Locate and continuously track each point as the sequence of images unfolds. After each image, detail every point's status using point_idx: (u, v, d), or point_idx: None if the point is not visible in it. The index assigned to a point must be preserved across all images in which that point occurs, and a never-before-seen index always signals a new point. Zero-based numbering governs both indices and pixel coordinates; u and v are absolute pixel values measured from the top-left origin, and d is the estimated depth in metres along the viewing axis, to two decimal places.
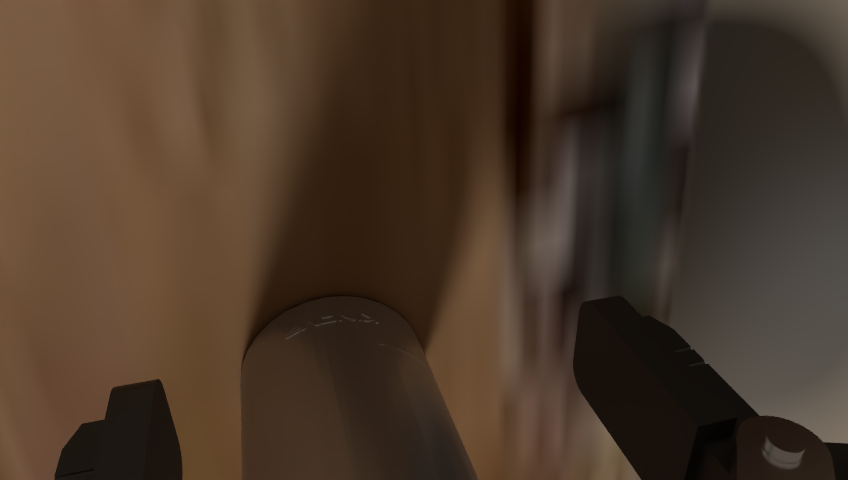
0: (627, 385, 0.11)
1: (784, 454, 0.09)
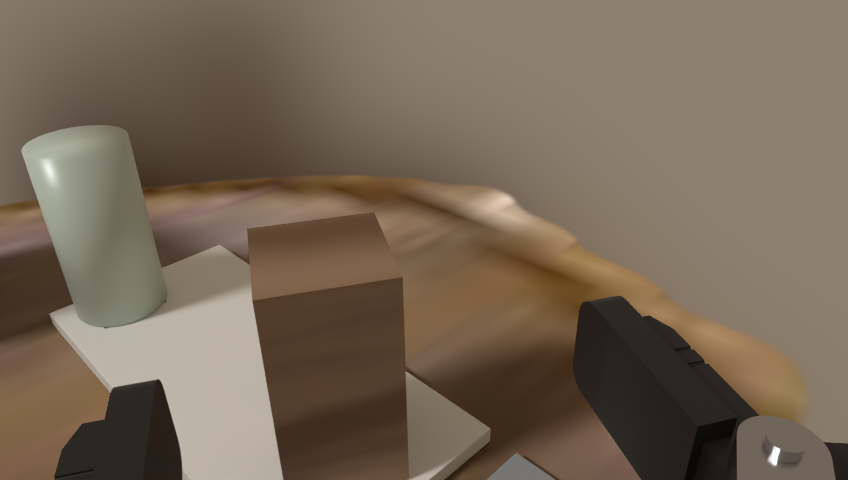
0: (627, 385, 0.11)
1: (784, 454, 0.09)
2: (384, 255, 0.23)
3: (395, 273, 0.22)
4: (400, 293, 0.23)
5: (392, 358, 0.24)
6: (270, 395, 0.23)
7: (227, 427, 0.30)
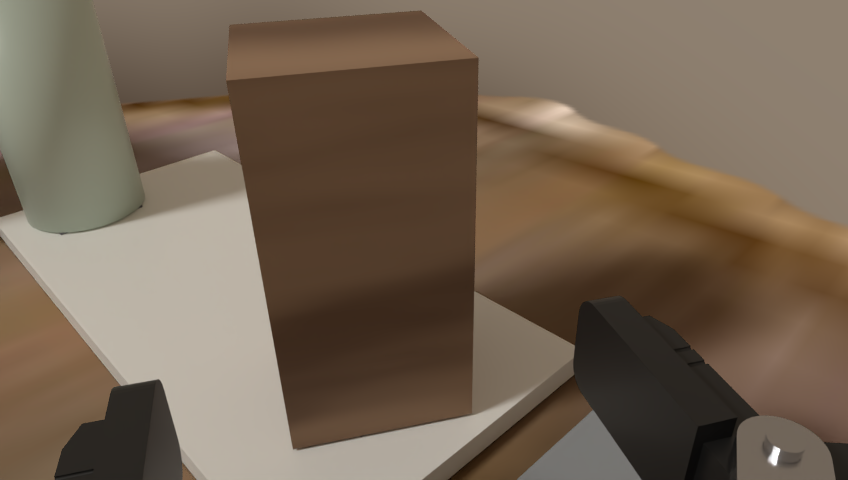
0: (627, 385, 0.11)
1: (784, 453, 0.09)
2: (444, 40, 0.15)
3: (466, 54, 0.13)
4: (473, 89, 0.14)
5: (456, 210, 0.15)
6: (262, 263, 0.14)
7: (210, 347, 0.21)
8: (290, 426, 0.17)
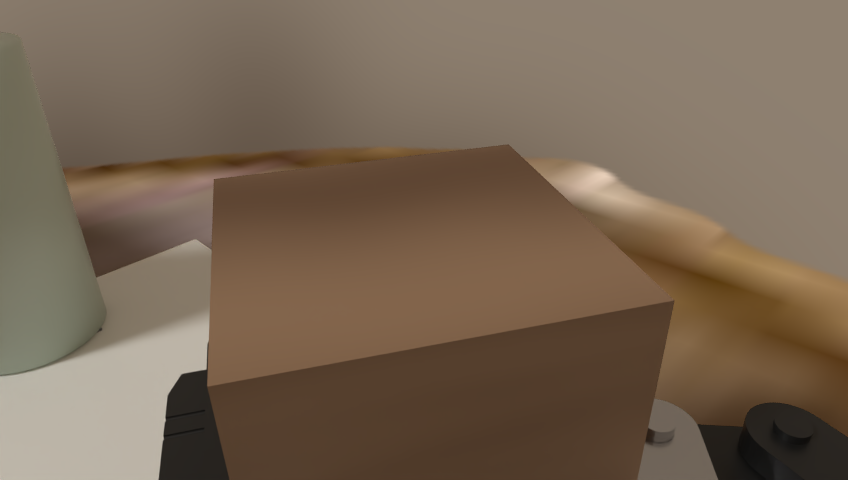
0: None
1: (659, 434, 0.09)
2: (585, 238, 0.08)
3: (646, 289, 0.07)
4: (657, 348, 0.08)
5: None
6: None
7: None
8: None
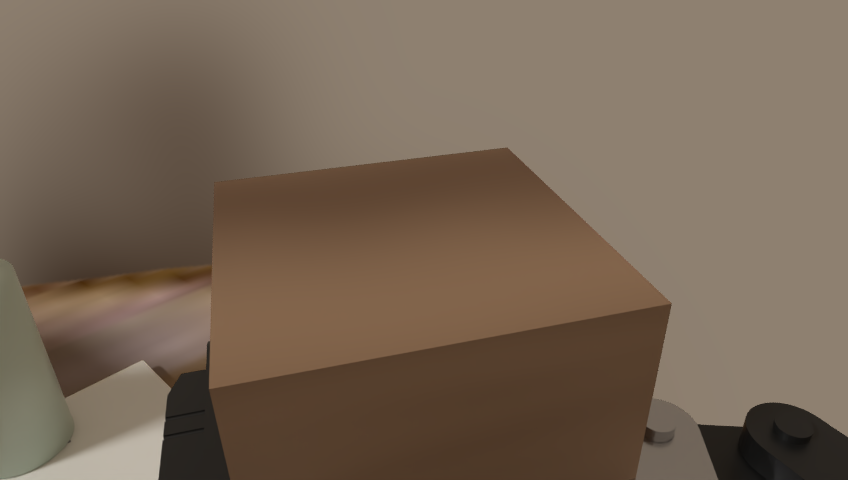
0: None
1: (660, 434, 0.09)
2: (583, 241, 0.09)
3: (644, 292, 0.07)
4: (655, 351, 0.08)
5: None
6: None
7: None
8: None
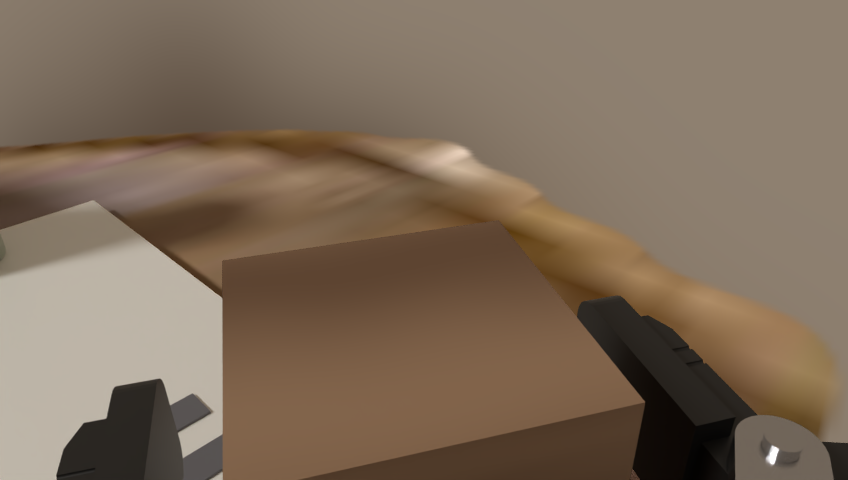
0: None
1: (782, 453, 0.09)
2: (566, 331, 0.09)
3: (620, 389, 0.08)
4: (630, 442, 0.08)
5: None
6: None
7: (15, 424, 0.21)
8: None
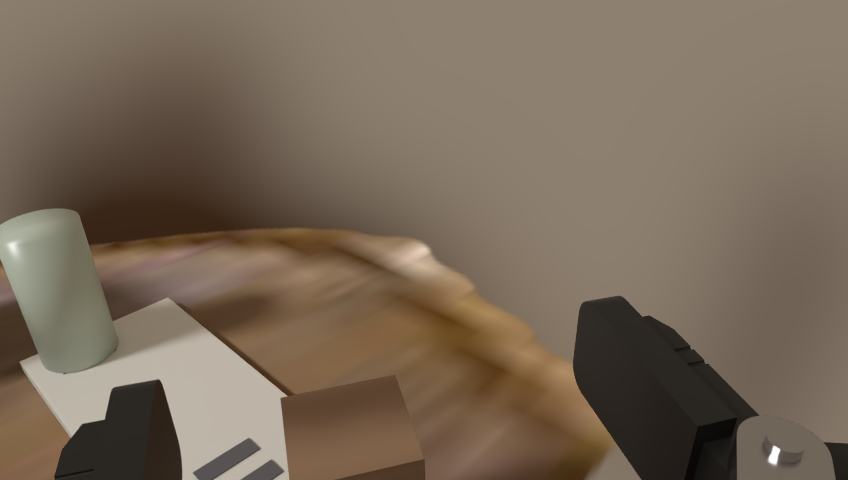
0: (627, 385, 0.11)
1: (784, 454, 0.09)
2: (406, 431, 0.26)
3: (417, 454, 0.25)
4: (422, 471, 0.25)
5: None
6: None
7: None
8: None
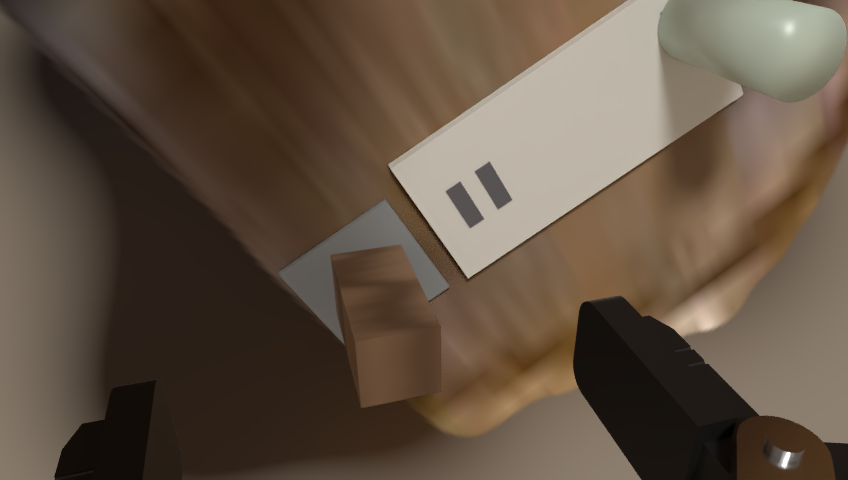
0: (627, 385, 0.11)
1: (784, 453, 0.09)
2: (386, 399, 0.39)
3: (365, 405, 0.39)
4: (359, 399, 0.40)
5: (351, 365, 0.42)
6: (343, 302, 0.40)
7: (518, 124, 0.44)
8: (332, 261, 0.44)
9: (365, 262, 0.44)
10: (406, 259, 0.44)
